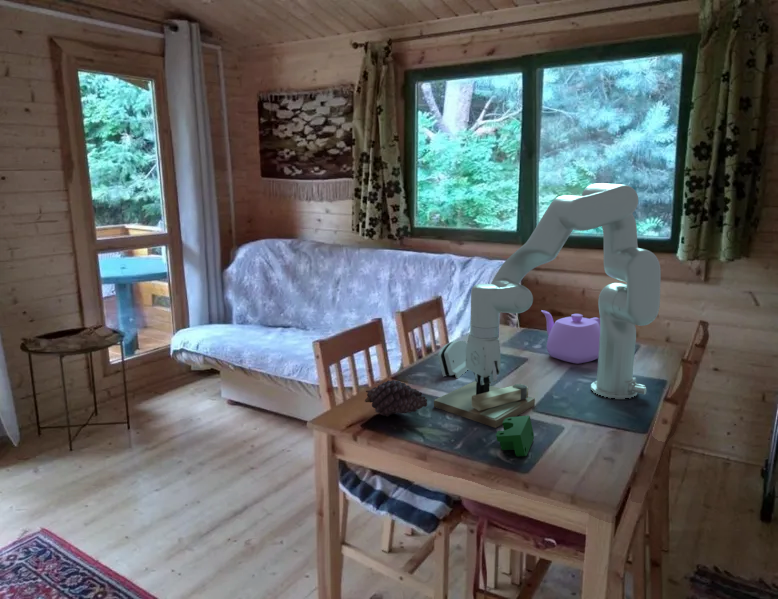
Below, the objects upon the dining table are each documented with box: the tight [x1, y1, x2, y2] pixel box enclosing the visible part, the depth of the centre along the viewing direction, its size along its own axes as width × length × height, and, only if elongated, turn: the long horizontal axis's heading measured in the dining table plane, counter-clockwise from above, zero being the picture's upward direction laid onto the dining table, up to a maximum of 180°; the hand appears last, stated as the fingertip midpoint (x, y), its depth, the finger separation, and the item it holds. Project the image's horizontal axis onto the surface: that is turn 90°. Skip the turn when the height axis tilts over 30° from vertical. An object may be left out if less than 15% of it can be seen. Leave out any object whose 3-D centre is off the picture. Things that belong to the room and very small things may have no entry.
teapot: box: [540, 309, 600, 365], centre depth 201 cm, size 23×21×15 cm
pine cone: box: [364, 379, 428, 418], centre depth 154 cm, size 18×10×10 cm, turn 68°
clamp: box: [495, 415, 535, 457], centre depth 137 cm, size 12×6×9 cm, turn 151°
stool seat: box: [433, 380, 536, 429], centre depth 161 cm, size 20×19×2 cm
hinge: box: [437, 340, 470, 379], centre depth 189 cm, size 17×5×10 cm, turn 150°
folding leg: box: [472, 383, 529, 411], centre depth 157 cm, size 17×4×3 cm, turn 119°
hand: (482, 396), depth 158 cm, fingers closed
